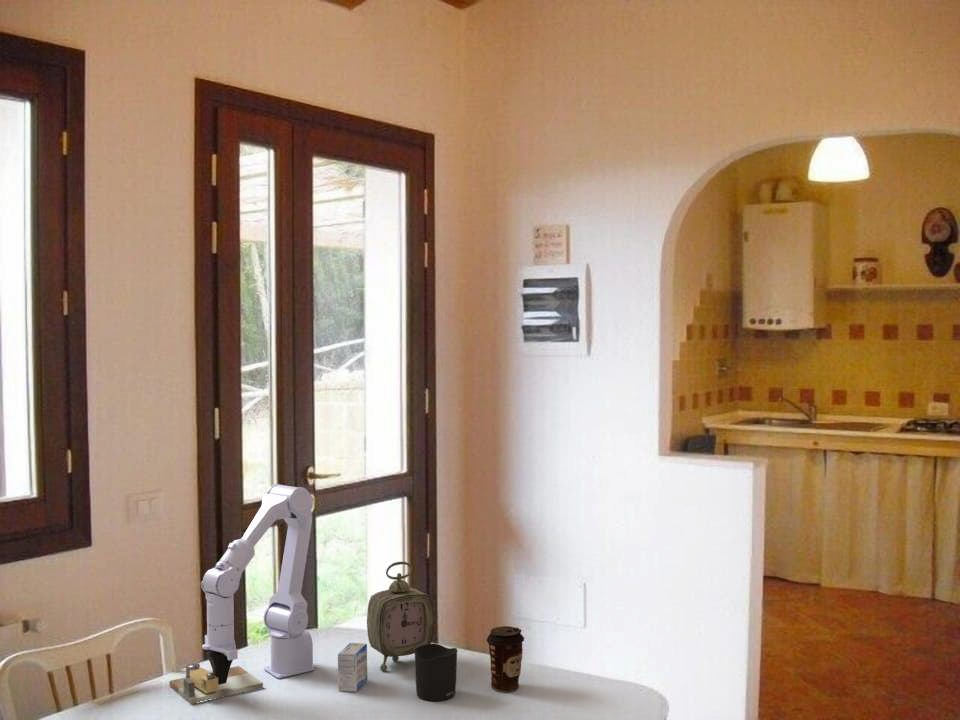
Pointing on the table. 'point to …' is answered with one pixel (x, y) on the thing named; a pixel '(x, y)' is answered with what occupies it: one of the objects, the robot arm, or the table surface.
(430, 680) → the pen holder
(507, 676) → the coffee cup
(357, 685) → the medicine box
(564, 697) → the table surface
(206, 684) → the latch bar
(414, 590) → the tabletop clock
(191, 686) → the metal latch base plate
